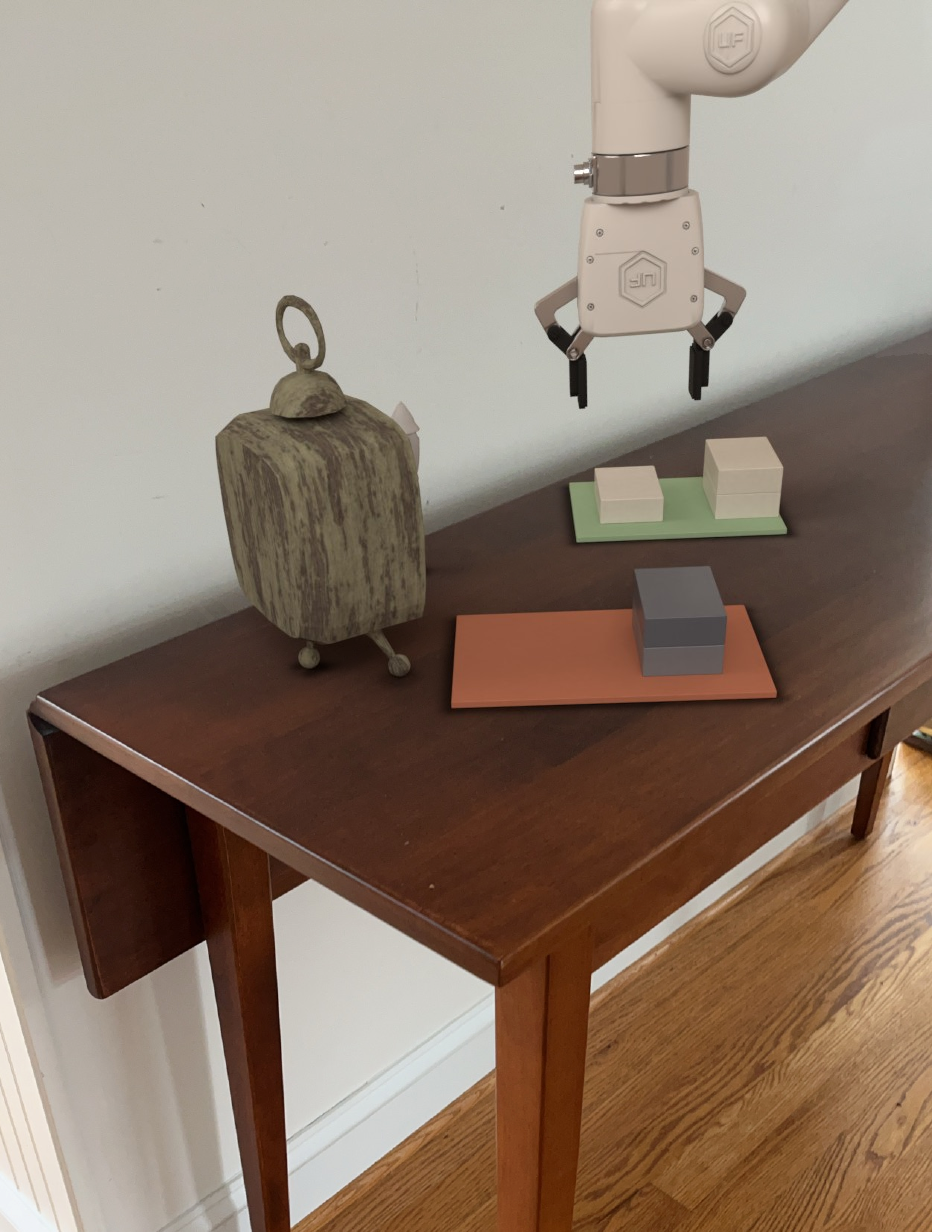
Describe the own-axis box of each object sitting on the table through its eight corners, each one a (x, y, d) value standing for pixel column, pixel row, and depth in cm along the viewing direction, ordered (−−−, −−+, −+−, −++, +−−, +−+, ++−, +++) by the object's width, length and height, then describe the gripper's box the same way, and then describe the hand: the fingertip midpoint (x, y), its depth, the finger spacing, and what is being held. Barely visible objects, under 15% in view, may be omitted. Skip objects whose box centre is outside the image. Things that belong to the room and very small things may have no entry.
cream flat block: (653, 488, 117) (654, 465, 115) (662, 521, 110) (664, 497, 108) (594, 491, 117) (594, 467, 116) (600, 524, 110) (600, 499, 109)
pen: (392, 570, 106) (378, 400, 97) (421, 563, 106) (410, 394, 98) (404, 580, 104) (390, 407, 96) (433, 573, 105) (422, 402, 96)
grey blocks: (706, 621, 93) (710, 565, 91) (722, 674, 86) (727, 615, 84) (631, 624, 93) (633, 568, 91) (642, 676, 87) (645, 618, 84)
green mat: (759, 479, 118) (759, 474, 118) (786, 534, 107) (787, 528, 107) (569, 487, 120) (569, 482, 119) (576, 542, 108) (576, 537, 108)
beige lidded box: (762, 483, 116) (766, 436, 113) (778, 517, 109) (783, 466, 106) (702, 486, 116) (705, 438, 114) (715, 519, 109) (718, 469, 107)
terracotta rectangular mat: (743, 610, 95) (744, 604, 95) (776, 698, 84) (777, 691, 84) (457, 621, 97) (456, 615, 97) (451, 708, 86) (451, 701, 85)
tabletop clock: (434, 680, 89) (408, 304, 74) (320, 716, 86) (269, 330, 71) (345, 611, 99) (307, 269, 85) (240, 641, 96) (182, 291, 81)
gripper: (530, 192, 95) (539, 420, 105) (760, 171, 94) (746, 405, 104) (528, 178, 101) (536, 396, 111) (744, 159, 100) (733, 381, 110)
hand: (638, 400), depth 108 cm, fingers open, 9 cm apart
